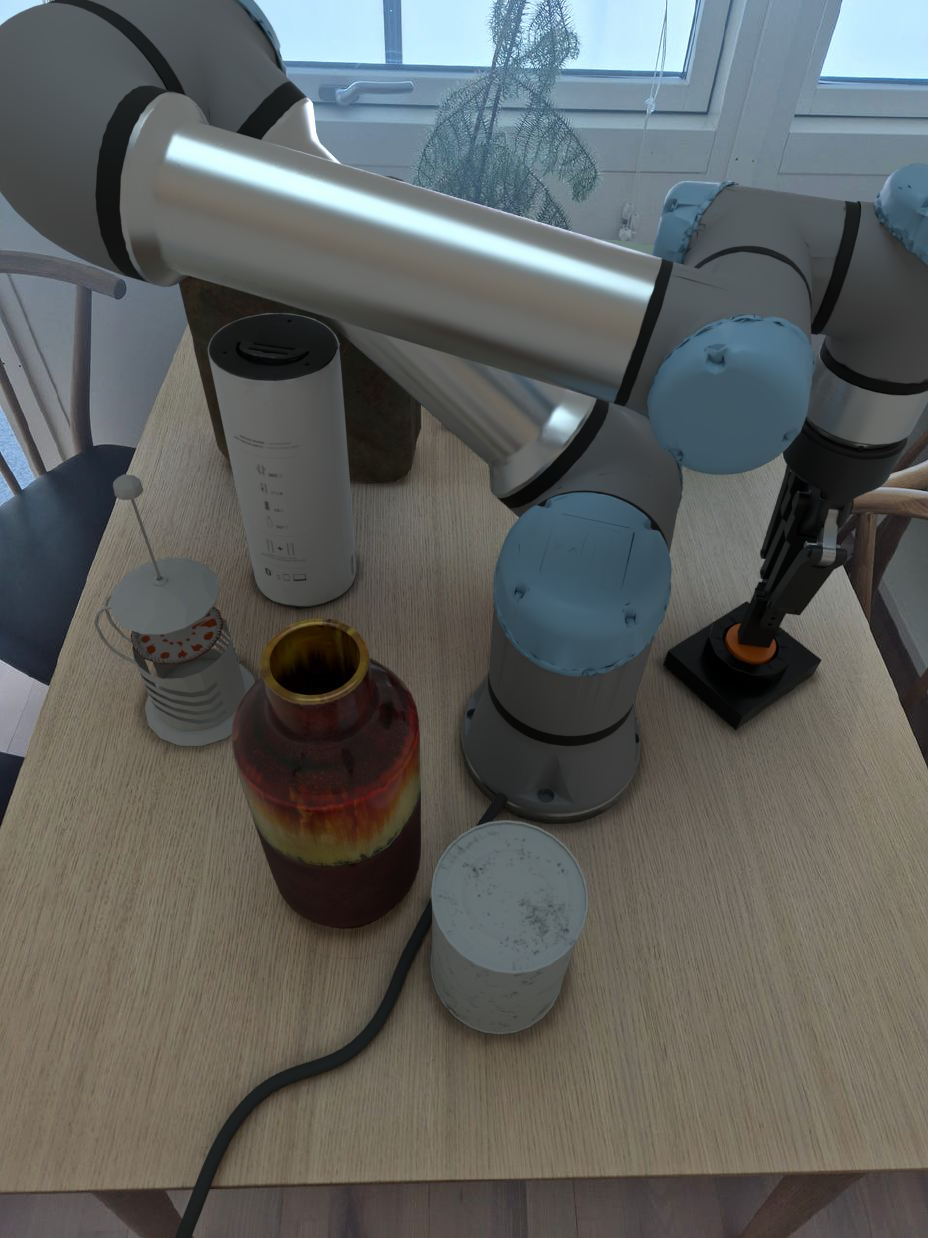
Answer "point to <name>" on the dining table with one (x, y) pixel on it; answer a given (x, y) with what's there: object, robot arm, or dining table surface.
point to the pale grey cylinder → (504, 924)
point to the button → (747, 649)
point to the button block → (738, 670)
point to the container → (372, 399)
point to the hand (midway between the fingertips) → (753, 639)
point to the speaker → (288, 453)
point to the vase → (332, 774)
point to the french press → (178, 642)
